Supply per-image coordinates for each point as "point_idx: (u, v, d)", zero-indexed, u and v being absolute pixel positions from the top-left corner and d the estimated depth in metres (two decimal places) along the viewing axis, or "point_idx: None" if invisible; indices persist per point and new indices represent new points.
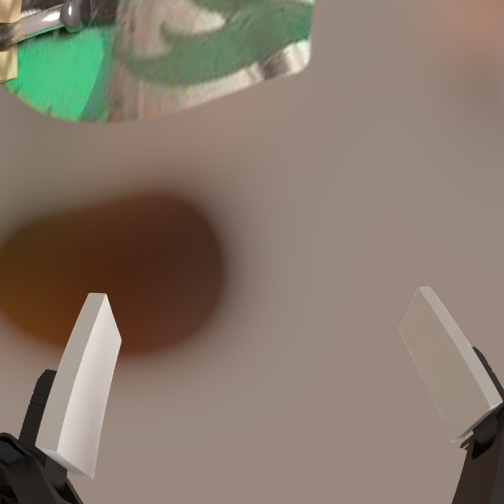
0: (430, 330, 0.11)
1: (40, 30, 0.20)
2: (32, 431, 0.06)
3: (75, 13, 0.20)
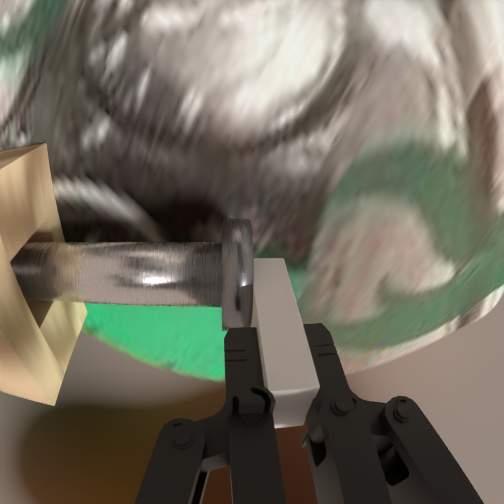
0: None
1: None
2: (240, 386, 0.09)
3: None
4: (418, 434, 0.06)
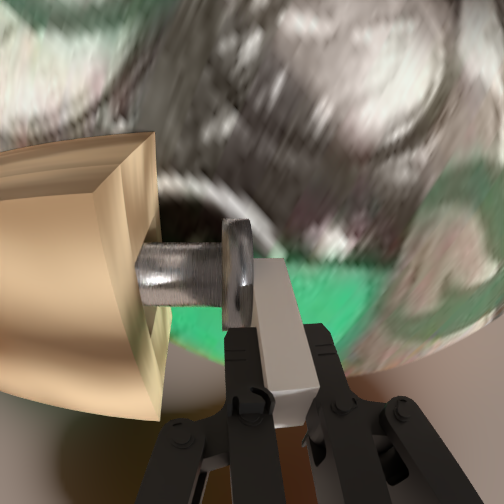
0: None
1: None
2: (240, 386, 0.09)
3: None
4: (418, 434, 0.06)
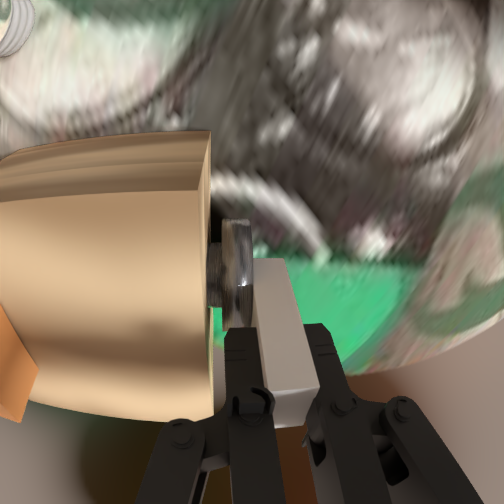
0: None
1: None
2: (240, 386, 0.09)
3: None
4: (418, 434, 0.06)
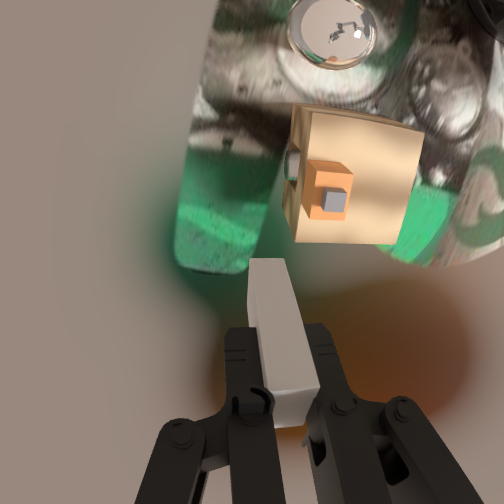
0: None
1: None
2: (240, 386, 0.09)
3: None
4: (418, 434, 0.06)
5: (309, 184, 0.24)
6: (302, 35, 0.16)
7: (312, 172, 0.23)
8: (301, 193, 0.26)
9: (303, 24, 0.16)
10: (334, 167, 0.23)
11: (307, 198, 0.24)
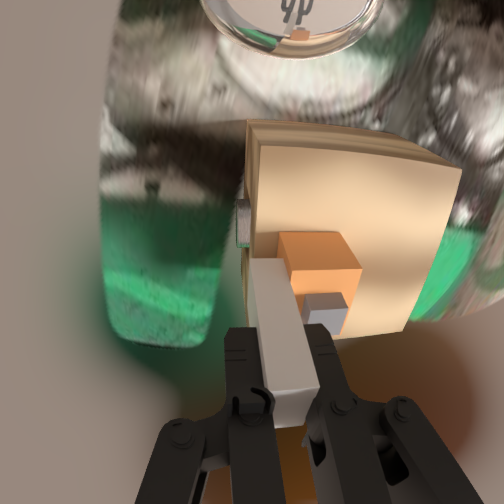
0: None
1: None
2: (240, 386, 0.09)
3: None
4: (418, 434, 0.06)
5: None
6: None
7: (285, 265, 0.13)
8: None
9: None
10: (327, 250, 0.13)
11: None
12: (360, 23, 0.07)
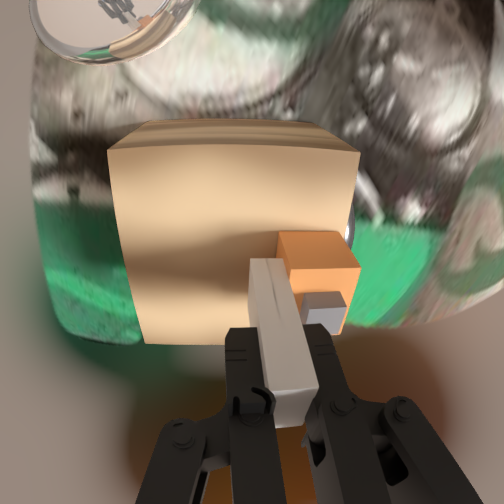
0: None
1: None
2: (240, 386, 0.09)
3: None
4: (417, 434, 0.06)
5: None
6: (32, 23, 0.06)
7: (285, 264, 0.13)
8: None
9: (29, 4, 0.05)
10: (326, 249, 0.13)
11: None
12: (148, 11, 0.07)
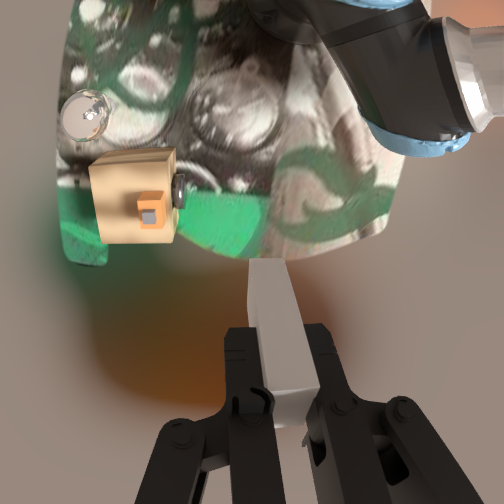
0: None
1: None
2: (240, 386, 0.09)
3: (183, 199, 0.43)
4: (418, 434, 0.06)
5: None
6: None
7: None
8: None
9: None
10: (153, 196, 0.37)
11: None
12: (93, 131, 0.30)
